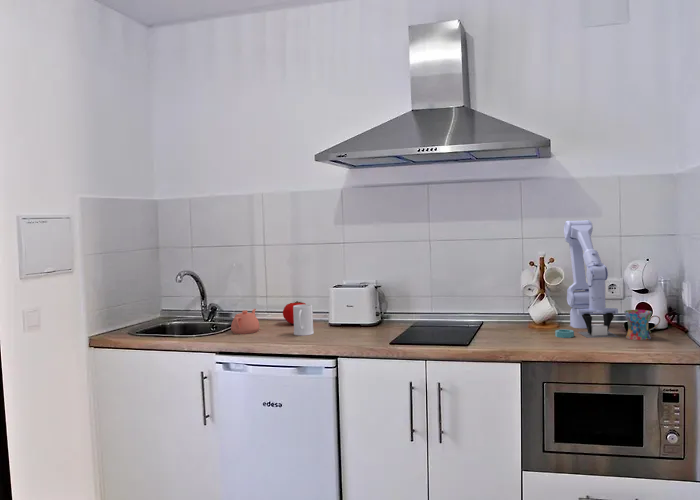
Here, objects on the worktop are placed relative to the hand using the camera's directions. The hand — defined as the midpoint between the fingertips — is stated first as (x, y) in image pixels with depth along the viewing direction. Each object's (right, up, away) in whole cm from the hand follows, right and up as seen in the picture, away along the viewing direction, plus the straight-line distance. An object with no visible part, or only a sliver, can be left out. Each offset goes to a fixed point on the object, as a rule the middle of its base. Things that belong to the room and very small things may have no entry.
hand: (597, 333), depth 249 cm
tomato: (-118, -3, +56) cm, 131 cm away
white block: (0, 0, 0) cm, 0 cm away
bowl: (-13, -2, -1) cm, 13 cm away
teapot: (-139, -5, +40) cm, 145 cm away
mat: (0, -1, 0) cm, 1 cm away
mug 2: (+13, -2, -9) cm, 16 cm away
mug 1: (-114, -4, +27) cm, 117 cm away
